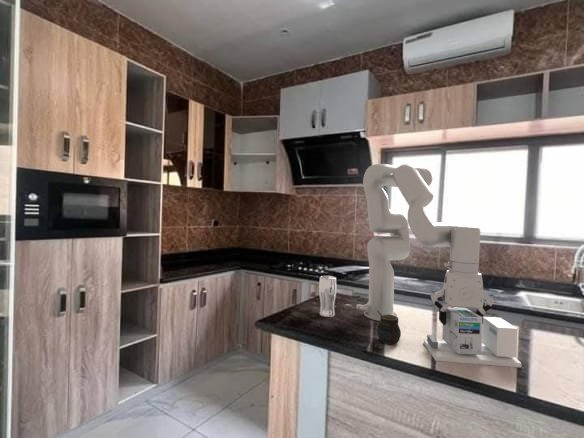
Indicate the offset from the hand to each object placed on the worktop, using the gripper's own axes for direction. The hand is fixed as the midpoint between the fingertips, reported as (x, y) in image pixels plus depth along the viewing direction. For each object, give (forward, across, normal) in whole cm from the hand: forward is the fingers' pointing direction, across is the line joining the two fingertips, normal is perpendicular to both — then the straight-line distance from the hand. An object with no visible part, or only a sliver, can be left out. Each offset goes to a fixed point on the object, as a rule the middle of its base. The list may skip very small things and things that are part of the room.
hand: (460, 324), depth 93 cm
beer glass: (+10, -40, +27) cm, 49 cm away
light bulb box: (+7, 0, 0) cm, 7 cm away
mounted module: (+6, +10, -1) cm, 12 cm away
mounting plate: (+8, +2, -1) cm, 9 cm away
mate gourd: (+9, -20, +4) cm, 22 cm away
